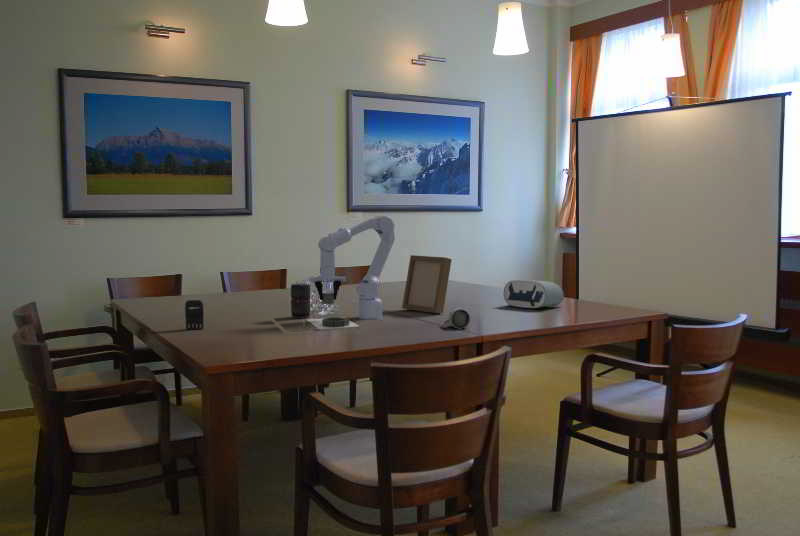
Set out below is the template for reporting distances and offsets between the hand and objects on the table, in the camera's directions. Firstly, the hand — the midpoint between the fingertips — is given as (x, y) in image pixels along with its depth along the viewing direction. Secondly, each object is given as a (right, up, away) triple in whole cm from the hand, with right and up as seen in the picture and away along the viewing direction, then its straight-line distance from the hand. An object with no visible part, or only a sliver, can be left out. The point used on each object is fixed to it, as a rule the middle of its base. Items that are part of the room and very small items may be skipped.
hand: (327, 299), depth 277 cm
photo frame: (+43, -7, +33) cm, 54 cm away
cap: (0, -2, 0) cm, 2 cm away
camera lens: (-12, -9, +8) cm, 17 cm away
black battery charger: (-50, -11, -14) cm, 53 cm away
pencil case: (+92, -6, +45) cm, 103 cm away
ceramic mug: (+51, -11, -12) cm, 53 cm away
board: (+2, -10, -6) cm, 12 cm away
